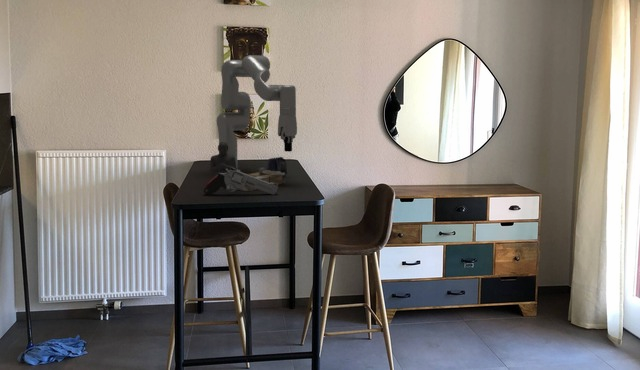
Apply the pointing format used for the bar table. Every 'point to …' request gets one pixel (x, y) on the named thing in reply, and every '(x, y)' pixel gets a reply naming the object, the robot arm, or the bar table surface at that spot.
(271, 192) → the revolver
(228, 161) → the figurine
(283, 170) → the bar
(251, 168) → the bar table surface
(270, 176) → the wooden latch block
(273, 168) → the rock
